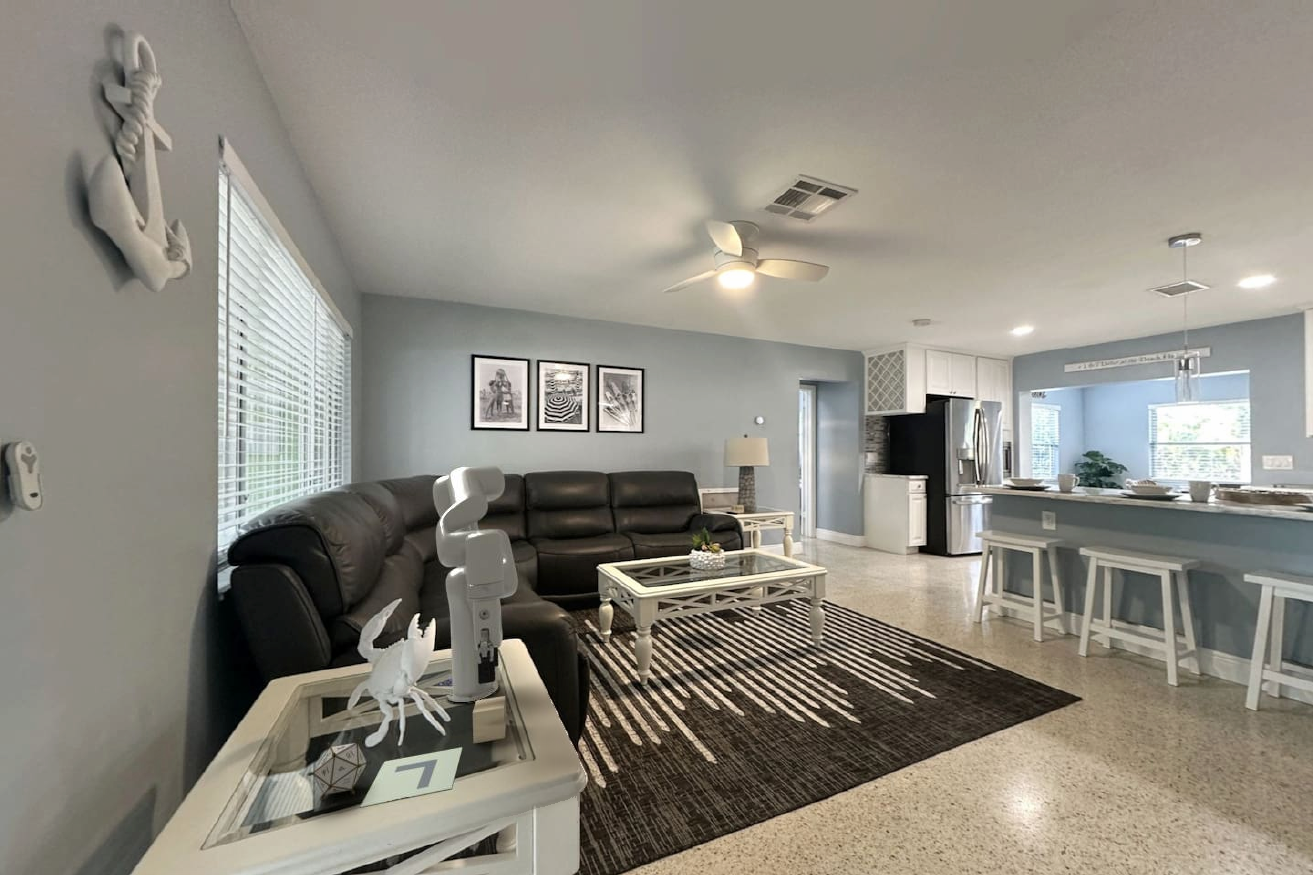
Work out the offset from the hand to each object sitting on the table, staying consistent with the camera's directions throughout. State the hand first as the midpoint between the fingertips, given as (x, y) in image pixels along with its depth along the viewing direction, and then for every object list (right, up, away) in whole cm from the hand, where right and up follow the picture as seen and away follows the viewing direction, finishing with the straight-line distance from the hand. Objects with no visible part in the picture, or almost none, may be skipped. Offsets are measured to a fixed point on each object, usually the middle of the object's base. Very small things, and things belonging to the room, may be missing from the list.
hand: (489, 674), depth 104 cm
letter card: (-8, -11, -14) cm, 20 cm away
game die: (-20, -12, -18) cm, 29 cm away
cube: (0, -12, -1) cm, 12 cm away
